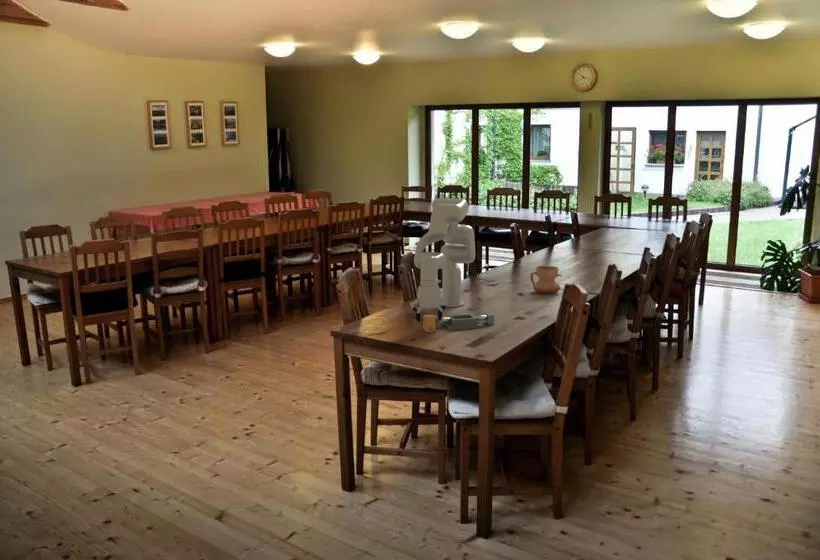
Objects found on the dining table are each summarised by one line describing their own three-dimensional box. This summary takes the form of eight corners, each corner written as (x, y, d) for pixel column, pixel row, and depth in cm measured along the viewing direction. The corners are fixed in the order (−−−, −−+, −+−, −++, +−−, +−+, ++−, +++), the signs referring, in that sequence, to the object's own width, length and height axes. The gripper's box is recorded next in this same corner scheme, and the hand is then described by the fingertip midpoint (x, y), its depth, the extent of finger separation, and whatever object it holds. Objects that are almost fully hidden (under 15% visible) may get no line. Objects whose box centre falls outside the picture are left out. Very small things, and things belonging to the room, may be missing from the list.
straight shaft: (475, 325, 327) (475, 316, 326) (472, 323, 331) (472, 314, 330) (493, 324, 330) (494, 315, 329) (490, 322, 333) (490, 312, 333)
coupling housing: (442, 324, 331) (442, 315, 330) (474, 321, 335) (474, 312, 334) (449, 330, 321) (449, 321, 320) (482, 327, 325) (482, 318, 324)
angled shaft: (450, 325, 328) (450, 316, 327) (449, 327, 325) (449, 318, 324) (431, 324, 330) (431, 315, 329) (430, 327, 326) (430, 317, 325)
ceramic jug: (565, 291, 394) (566, 266, 391) (556, 297, 382) (557, 271, 379) (535, 288, 403) (536, 263, 400) (525, 293, 391) (525, 267, 388)
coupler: (426, 333, 316) (426, 318, 314) (422, 329, 323) (422, 314, 321) (436, 333, 317) (436, 317, 315) (431, 328, 324) (431, 313, 323)
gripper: (445, 280, 321) (444, 317, 324) (408, 282, 317) (408, 319, 320) (450, 283, 314) (450, 321, 317) (412, 285, 309) (412, 324, 313)
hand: (429, 320), depth 318 cm, fingers open, 9 cm apart
